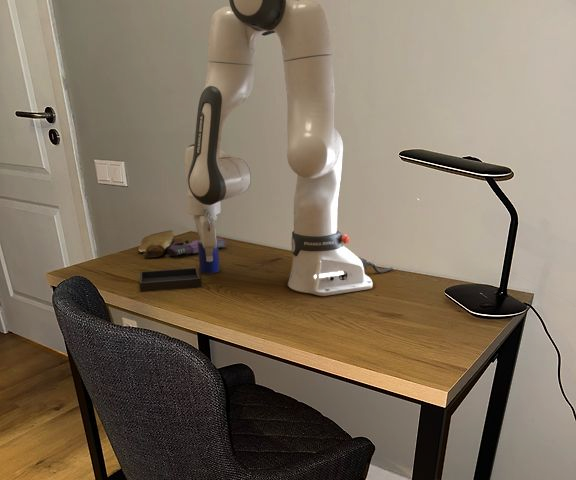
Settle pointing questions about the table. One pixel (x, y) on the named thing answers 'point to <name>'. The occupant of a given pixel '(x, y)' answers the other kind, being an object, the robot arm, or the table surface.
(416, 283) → the table surface
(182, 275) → the tray
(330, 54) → the robot arm
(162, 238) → the stone tool
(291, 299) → the table surface
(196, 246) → the toy gun
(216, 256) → the can
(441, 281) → the table surface
